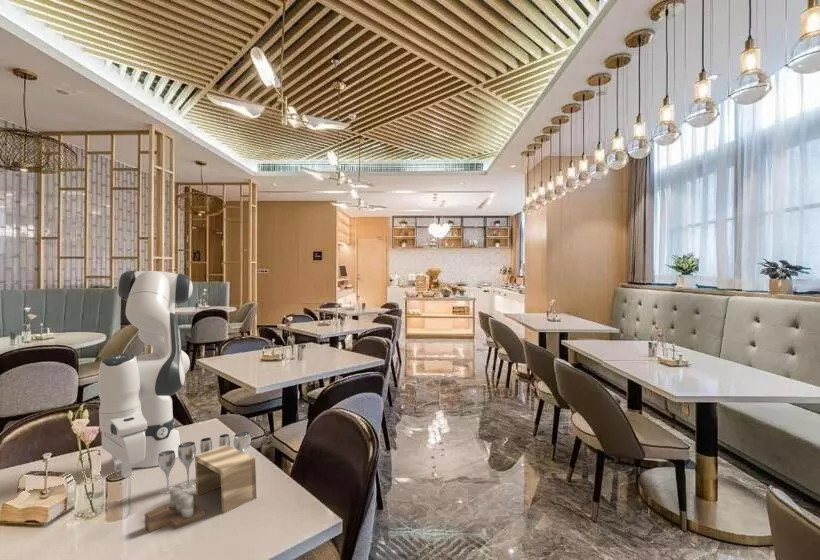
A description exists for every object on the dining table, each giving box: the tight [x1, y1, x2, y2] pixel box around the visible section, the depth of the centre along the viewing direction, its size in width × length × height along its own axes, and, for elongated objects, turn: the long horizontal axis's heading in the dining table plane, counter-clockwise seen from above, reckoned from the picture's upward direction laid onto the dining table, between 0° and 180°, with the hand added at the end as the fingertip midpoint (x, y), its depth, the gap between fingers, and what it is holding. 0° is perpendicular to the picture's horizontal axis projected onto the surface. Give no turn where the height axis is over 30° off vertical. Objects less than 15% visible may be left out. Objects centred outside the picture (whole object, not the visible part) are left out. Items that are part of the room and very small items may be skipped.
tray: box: [144, 486, 206, 533], centre depth 118 cm, size 11×12×6 cm
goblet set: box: [158, 431, 252, 495], centre depth 141 cm, size 28×6×13 cm, turn 127°
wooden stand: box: [194, 445, 257, 514], centre depth 130 cm, size 17×10×12 cm, turn 51°
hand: (123, 473), depth 109 cm, fingers open, 4 cm apart
